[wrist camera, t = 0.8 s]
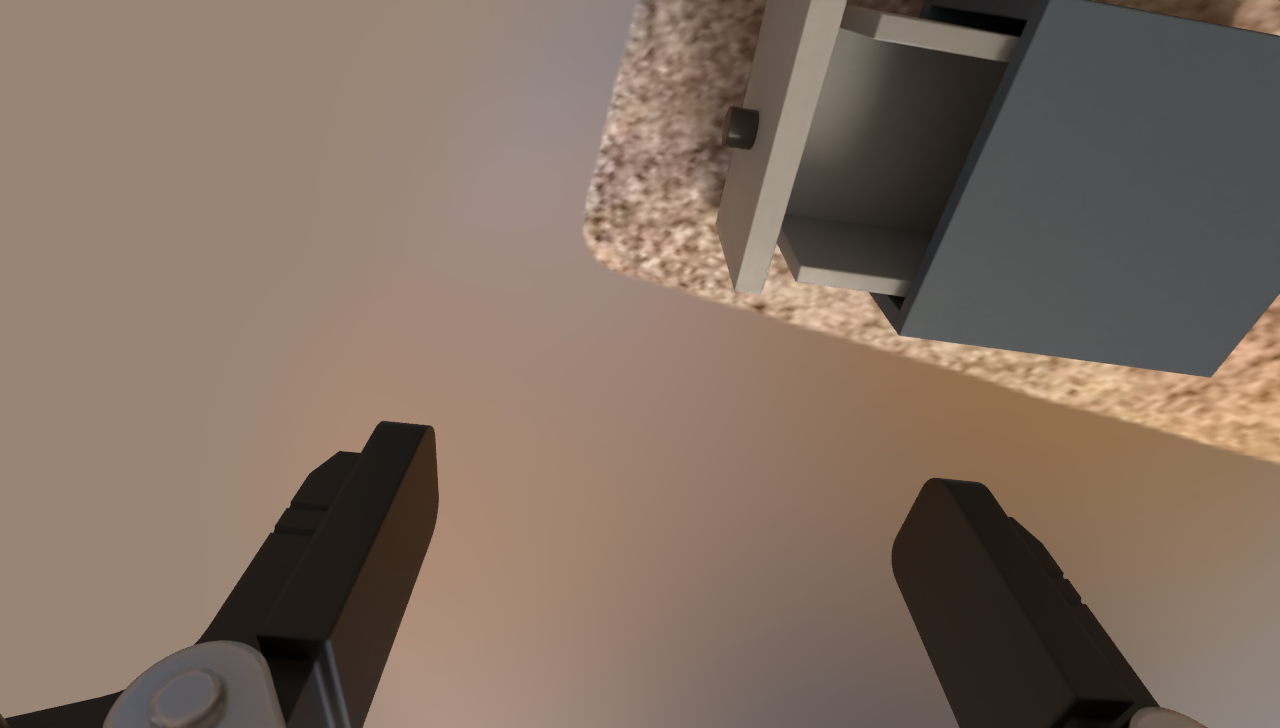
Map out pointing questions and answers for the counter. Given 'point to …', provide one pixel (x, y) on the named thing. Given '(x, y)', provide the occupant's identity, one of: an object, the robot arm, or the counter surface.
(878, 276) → the drawer
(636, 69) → the counter surface
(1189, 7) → the counter surface
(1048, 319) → the cabinet
